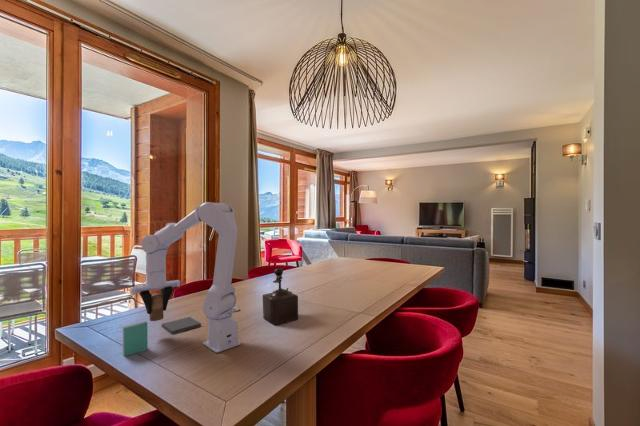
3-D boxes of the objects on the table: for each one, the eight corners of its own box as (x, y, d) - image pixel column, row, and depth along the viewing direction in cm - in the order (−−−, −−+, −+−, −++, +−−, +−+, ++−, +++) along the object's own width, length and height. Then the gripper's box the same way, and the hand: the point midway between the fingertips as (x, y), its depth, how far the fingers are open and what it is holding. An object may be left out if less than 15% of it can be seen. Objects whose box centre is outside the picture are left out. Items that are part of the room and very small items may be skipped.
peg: (165, 318, 98) (164, 294, 98) (151, 322, 95) (151, 297, 95) (161, 316, 101) (160, 292, 101) (148, 319, 98) (147, 295, 98)
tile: (147, 349, 89) (147, 322, 89) (124, 356, 84) (123, 328, 84) (146, 347, 90) (145, 321, 90) (122, 354, 85) (122, 327, 85)
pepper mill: (300, 319, 112) (300, 272, 112) (274, 326, 106) (274, 276, 106) (281, 309, 125) (280, 266, 125) (256, 314, 118) (256, 269, 119)
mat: (200, 326, 107) (200, 323, 107) (171, 334, 100) (171, 331, 100) (189, 319, 114) (189, 316, 114) (161, 326, 107) (161, 323, 107)
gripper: (174, 266, 106) (175, 304, 106) (127, 272, 96) (128, 314, 96) (182, 268, 101) (182, 308, 101) (133, 275, 91) (134, 319, 91)
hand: (156, 311), depth 98 cm, fingers closed on peg, 4 cm apart
